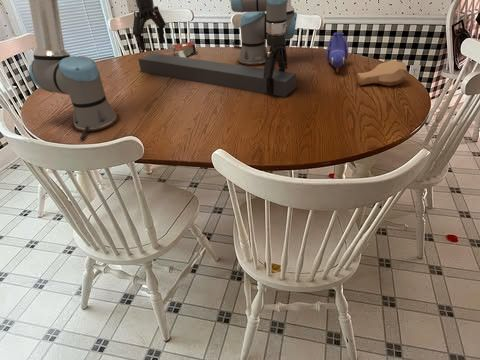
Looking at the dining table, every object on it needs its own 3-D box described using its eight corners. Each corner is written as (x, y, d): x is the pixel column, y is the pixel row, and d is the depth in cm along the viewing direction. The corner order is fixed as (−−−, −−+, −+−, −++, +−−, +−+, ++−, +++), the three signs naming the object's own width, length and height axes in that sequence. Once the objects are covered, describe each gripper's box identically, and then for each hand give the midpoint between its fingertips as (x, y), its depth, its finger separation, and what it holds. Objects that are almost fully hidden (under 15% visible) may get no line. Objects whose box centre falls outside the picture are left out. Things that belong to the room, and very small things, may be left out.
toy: (325, 68, 179) (325, 75, 157) (327, 32, 172) (327, 34, 150) (346, 67, 177) (349, 74, 155) (348, 31, 170) (351, 33, 148)
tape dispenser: (183, 66, 184) (206, 53, 197) (182, 56, 181) (205, 43, 193) (158, 60, 192) (181, 48, 204) (156, 51, 188) (180, 38, 201)
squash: (410, 86, 145) (414, 66, 139) (360, 95, 147) (362, 76, 141) (400, 73, 153) (404, 53, 146) (353, 81, 155) (354, 62, 148)
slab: (140, 71, 178) (138, 58, 174) (154, 65, 185) (152, 52, 181) (285, 97, 143) (285, 81, 139) (295, 88, 150) (296, 73, 146)
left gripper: (129, 2, 149) (140, 54, 161) (168, -8, 166) (175, 39, 178) (117, 2, 152) (128, 52, 164) (156, -8, 169) (164, 38, 181)
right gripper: (271, 42, 127) (271, 100, 140) (297, 27, 142) (295, 80, 155) (253, 40, 130) (255, 97, 143) (280, 25, 145) (279, 78, 159)
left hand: (153, 46), depth 171 cm, fingers open, 13 cm apart
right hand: (275, 88), depth 149 cm, fingers closed on slab, 10 cm apart
